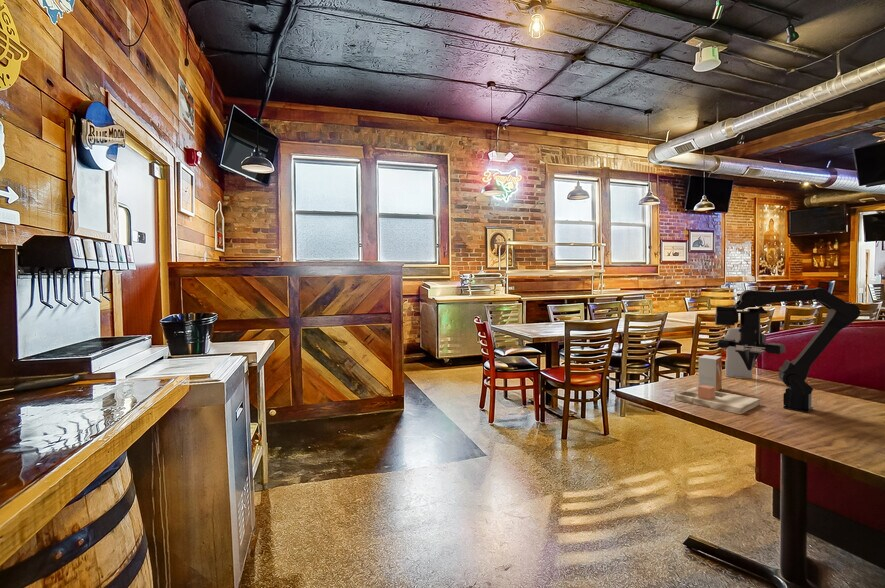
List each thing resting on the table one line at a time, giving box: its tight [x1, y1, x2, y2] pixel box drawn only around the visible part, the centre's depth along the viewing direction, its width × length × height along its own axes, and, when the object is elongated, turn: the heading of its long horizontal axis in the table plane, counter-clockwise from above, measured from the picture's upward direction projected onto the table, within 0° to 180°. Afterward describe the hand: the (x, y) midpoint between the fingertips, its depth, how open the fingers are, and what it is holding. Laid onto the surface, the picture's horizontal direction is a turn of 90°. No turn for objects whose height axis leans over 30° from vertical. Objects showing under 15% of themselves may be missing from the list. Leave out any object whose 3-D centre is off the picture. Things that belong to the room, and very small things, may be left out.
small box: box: [697, 354, 723, 391], centre depth 170 cm, size 8×6×13 cm
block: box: [697, 385, 715, 400], centre depth 153 cm, size 4×4×4 cm
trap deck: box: [674, 386, 761, 415], centre depth 154 cm, size 21×16×2 cm
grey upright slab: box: [723, 326, 754, 380], centre depth 187 cm, size 11×4×22 cm, turn 61°
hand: (749, 370), depth 150 cm, fingers closed
